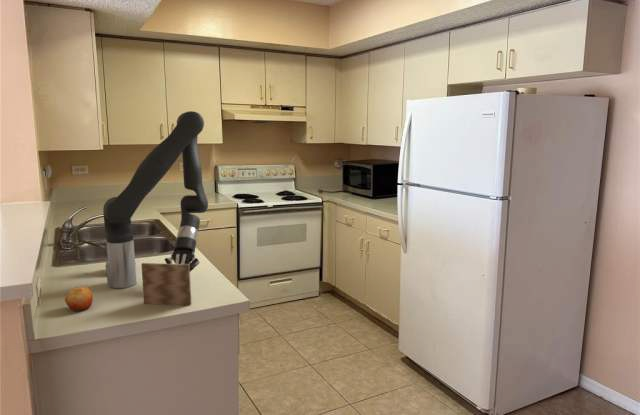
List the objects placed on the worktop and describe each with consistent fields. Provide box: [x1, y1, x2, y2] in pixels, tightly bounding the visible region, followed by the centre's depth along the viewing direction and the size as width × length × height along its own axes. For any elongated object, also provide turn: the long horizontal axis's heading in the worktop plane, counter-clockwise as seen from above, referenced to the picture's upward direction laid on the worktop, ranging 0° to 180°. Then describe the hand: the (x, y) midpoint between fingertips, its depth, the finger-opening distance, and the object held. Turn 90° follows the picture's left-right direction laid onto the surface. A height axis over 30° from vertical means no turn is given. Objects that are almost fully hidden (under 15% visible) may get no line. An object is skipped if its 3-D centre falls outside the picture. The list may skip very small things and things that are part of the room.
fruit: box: [64, 286, 94, 311], centre depth 148 cm, size 8×8×8 cm
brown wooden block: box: [141, 262, 192, 306], centre depth 153 cm, size 16×6×14 cm, turn 87°
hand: (177, 283), depth 160 cm, fingers closed
